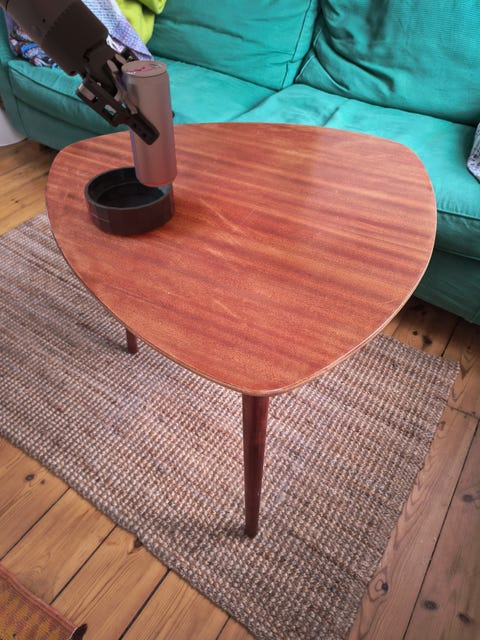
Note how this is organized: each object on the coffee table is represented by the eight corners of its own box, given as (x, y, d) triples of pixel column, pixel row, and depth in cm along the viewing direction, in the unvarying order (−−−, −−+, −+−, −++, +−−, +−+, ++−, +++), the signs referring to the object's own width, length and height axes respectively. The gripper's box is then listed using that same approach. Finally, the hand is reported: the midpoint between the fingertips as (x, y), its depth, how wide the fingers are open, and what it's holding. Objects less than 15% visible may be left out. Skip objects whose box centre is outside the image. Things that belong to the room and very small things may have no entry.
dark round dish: (88, 241, 79) (80, 212, 75) (93, 195, 90) (87, 168, 86) (177, 233, 81) (175, 205, 77) (172, 190, 92) (170, 163, 88)
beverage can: (128, 178, 68) (109, 66, 58) (159, 164, 71) (147, 56, 61) (154, 193, 65) (139, 78, 55) (186, 178, 69) (178, 67, 58)
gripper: (44, 12, 49) (163, 135, 56) (99, -14, 59) (195, 92, 66) (14, 63, 53) (128, 171, 60) (70, 31, 63) (163, 126, 70)
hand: (163, 129), depth 63 cm, fingers closed on beverage can, 6 cm apart
